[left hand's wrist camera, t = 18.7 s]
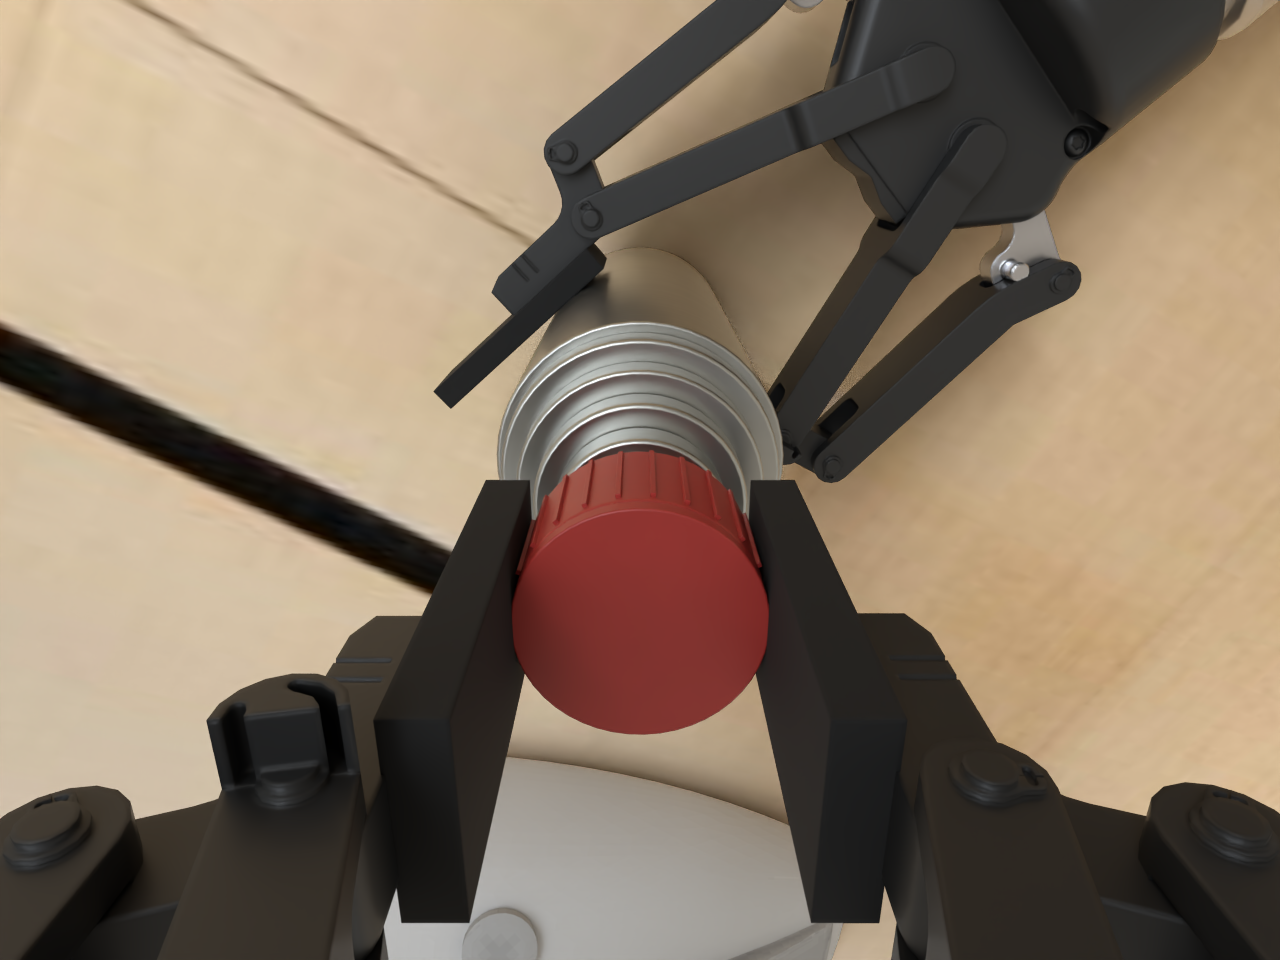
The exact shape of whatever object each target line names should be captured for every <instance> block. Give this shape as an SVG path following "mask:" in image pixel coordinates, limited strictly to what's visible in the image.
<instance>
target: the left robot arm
mask: <svg viewBox="0 0 1280 960" xmlns="http://www.w3.org/2000/svg"><path fill="white" fill-rule="evenodd" d="M531 520H532V510H531V491H530V480H486V481H485V483H484V485H483V487H482V490H481V492H480V494H479V496H478V498H477V500H476V502H475V504H474V507H473V509H472V511H471V513H470V515H469V517H468V519H467V521H466V524H465V526H464V528H463V530H462V532H461V534H460V536H459V538H458V541H457V543H456V545H455V547H454V549H453V551H452V553H451V555H450V558H449V560H448V562H447V564H446V566H445V568H444V570H443V572H442V574H441V577H440V579H439V581H438V583H437V585H436V587H435V589H434V591H433V594H432V596H431V598H430V600H429V602H428V604H427V606H426V608H425V611H424V613H423V615H422V616H376V617H374V618H373V619H372V620H370V621H369V622H368V623H366V624H365V625H364V626H362V627H361V628H360V629H358V630H357V631H356V632H354V633H353V634H352V635H350V636H349V638H348V640H347V641H346V643H345V645H344V646H343V648H342V650H341V651H340V653H339V655H338V656H337V658H336V663H333V665H332V666H331V668H330V670H329V671H328V673H327V675H326V676H323V675H319V674H288V675H284V676H279V677H274V678H269V679H265V680H262V681H260V682H257V683H255V684H253V685H250V686H248V687H245V688H243V689H240V690H239V691H237V692H236V693H234V694H233V695H231V696H230V697H229V698H227V699H226V700H224V701H223V702H221V703H220V704H219V705H218V706H217V707H216V709H215V710H214V711H213V713H212V714H211V715H210V717H209V718H208V719H207V720H206V721H207V725H208V730H209V734H210V739H211V743H212V747H213V752H214V756H215V761H216V765H217V769H218V774H219V778H220V783H221V787H222V791H221V793H220V796H219V799H216V800H214V801H210V802H207V803H203V804H200V805H197V806H193V807H189V808H185V809H180V810H176V811H171V812H167V813H162V814H158V815H153V816H149V817H145V818H140V819H136V820H135V817H134V813H133V810H132V806H131V803H130V801H129V800H128V799H127V798H126V797H125V796H124V795H123V794H122V793H121V792H119V791H118V790H115V789H110V788H105V787H100V786H89V787H79V788H69V789H65V790H62V791H59V792H55V793H52V794H49V795H46V796H43V797H39V798H37V799H35V800H33V801H31V802H29V803H27V804H25V805H23V806H21V807H19V808H17V809H15V810H13V811H11V812H9V813H7V814H6V815H5V816H3V817H2V818H1V819H0V960H389V958H388V951H387V945H386V938H385V931H384V924H385V921H386V918H387V915H388V912H389V909H390V906H391V903H392V900H393V897H394V894H395V891H396V888H397V896H398V903H399V910H400V917H401V923H470V919H471V914H472V910H473V905H474V901H475V896H476V892H477V887H478V882H479V878H480V873H481V869H482V864H483V860H484V855H485V851H486V846H487V842H488V837H489V833H490V828H491V824H492V819H493V815H494V810H495V806H496V801H497V797H498V792H499V788H500V783H501V779H502V774H503V769H504V765H505V760H506V756H507V751H508V747H509V742H510V738H511V733H512V729H513V724H514V720H515V715H516V711H517V706H518V702H519V697H520V693H521V688H522V684H523V679H524V675H525V673H524V671H523V669H522V667H521V665H520V663H519V661H518V659H517V656H516V653H515V650H514V641H513V626H512V600H513V596H514V592H515V589H516V585H517V582H518V578H519V575H517V574H516V570H517V567H518V564H519V560H520V557H521V554H522V550H523V547H524V543H525V540H526V537H527V533H528V530H529V527H530V523H531ZM749 524H750V527H751V531H752V534H753V537H754V541H755V544H756V547H757V551H758V554H759V558H760V561H761V564H762V567H760V568H759V569H760V572H761V576H762V579H763V583H764V586H765V590H766V593H767V598H768V603H769V618H768V634H767V647H766V652H765V654H764V657H763V659H762V662H761V664H760V666H759V668H758V670H757V671H756V677H757V681H758V686H759V690H760V695H761V699H762V704H763V708H764V713H765V717H766V722H767V726H768V731H769V735H770V740H771V744H772V749H773V754H774V758H775V763H776V767H777V772H778V776H779V781H780V785H781V790H782V794H783V799H784V803H785V808H786V812H787V817H788V821H789V826H790V830H791V835H792V839H793V844H794V848H795V853H796V857H797V862H798V866H799V871H800V876H801V880H802V885H803V889H804V894H805V898H806V903H807V907H808V912H809V916H810V921H811V923H879V921H880V914H881V907H882V899H883V892H884V885H885V888H886V891H887V894H888V897H889V900H890V903H891V906H892V909H893V912H894V915H895V918H896V921H897V924H896V931H895V938H894V944H893V951H892V958H891V960H1280V814H1279V813H1278V812H1277V811H1275V810H1274V809H1272V808H1270V807H1268V806H1266V805H1264V804H1262V803H1260V802H1258V801H1256V800H1254V799H1252V798H1250V797H1248V796H1246V795H1244V794H1241V793H1238V792H1235V791H1232V790H1228V789H1225V788H1221V787H1218V786H1215V785H1208V784H1197V783H1187V782H1184V783H1179V784H1174V785H1170V786H1165V787H1163V788H1162V789H1161V790H1160V791H1158V792H1157V793H1156V794H1155V795H1154V796H1153V797H1152V798H1151V802H1150V805H1149V809H1148V812H1147V816H1143V815H1138V814H1134V813H1129V812H1125V811H1120V810H1116V809H1111V808H1107V807H1102V806H1098V805H1093V804H1089V803H1086V802H1082V801H1079V800H1075V799H1072V798H1068V797H1066V796H1063V795H1061V794H1060V792H1059V789H1058V787H1057V786H1056V784H1055V783H1054V781H1053V780H1052V778H1051V777H1050V775H1049V774H1048V772H1047V771H1046V770H1045V769H1044V768H1042V767H1041V766H1040V765H1039V764H1037V763H1036V762H1035V761H1034V760H1032V759H1031V758H1030V757H1028V756H1027V755H1025V754H1023V753H1021V752H1019V751H1017V750H1015V749H1013V748H1010V747H1008V746H1006V745H1004V744H1001V743H997V741H996V740H995V738H994V736H993V735H992V733H991V731H990V730H989V728H988V726H987V725H986V723H985V721H984V720H983V718H982V716H981V715H980V713H979V711H978V710H977V708H976V707H975V705H974V703H973V702H972V700H971V698H970V697H969V695H968V693H967V692H966V690H965V688H964V687H963V685H962V683H961V682H960V680H957V679H956V674H955V672H954V670H953V669H952V667H951V665H950V664H949V662H948V660H945V655H944V654H943V652H942V650H941V649H940V647H939V645H938V644H937V642H936V640H935V639H934V637H933V636H932V634H931V633H930V632H929V631H928V630H926V629H925V628H923V627H922V626H921V625H919V624H918V623H917V622H915V621H914V620H913V619H911V618H910V617H909V616H907V615H906V614H904V613H857V611H856V609H855V607H854V605H853V603H852V601H851V599H850V597H849V594H848V592H847V590H846V588H845V586H844V584H843V582H842V580H841V578H840V575H839V573H838V571H837V569H836V567H835V565H834V563H833V561H832V558H831V556H830V554H829V552H828V550H827V548H826V546H825V544H824V541H823V539H822V537H821V535H820V533H819V531H818V529H817V527H816V524H815V522H814V520H813V518H812V516H811V514H810V512H809V510H808V507H807V505H806V503H805V501H804V499H803V497H802V495H801V493H800V491H799V488H798V486H797V484H796V482H795V480H751V482H750V502H749Z"/></svg>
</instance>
